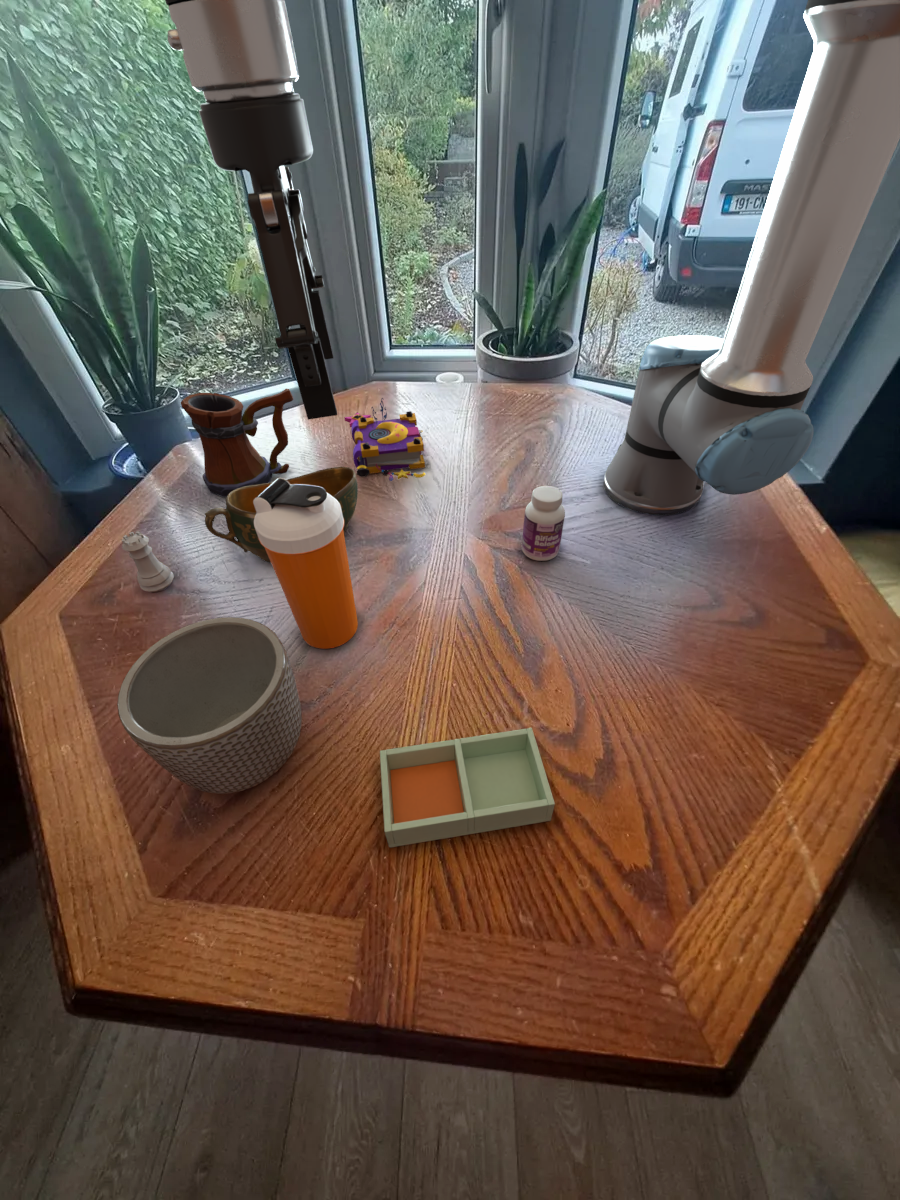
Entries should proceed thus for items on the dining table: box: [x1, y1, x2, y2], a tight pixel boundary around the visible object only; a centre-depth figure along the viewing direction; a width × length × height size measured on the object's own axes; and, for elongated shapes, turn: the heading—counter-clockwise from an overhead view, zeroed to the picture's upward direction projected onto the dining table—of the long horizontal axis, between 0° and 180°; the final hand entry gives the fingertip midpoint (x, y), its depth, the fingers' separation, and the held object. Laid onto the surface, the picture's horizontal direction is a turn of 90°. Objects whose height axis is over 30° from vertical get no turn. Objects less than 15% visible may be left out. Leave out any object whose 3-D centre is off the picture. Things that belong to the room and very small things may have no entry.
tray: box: [379, 727, 556, 849], centre depth 48 cm, size 15×8×4 cm, turn 99°
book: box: [343, 397, 427, 482], centre depth 92 cm, size 14×25×12 cm, turn 10°
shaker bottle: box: [253, 477, 359, 650], centre depth 58 cm, size 9×9×20 cm
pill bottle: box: [521, 485, 566, 562], centre depth 72 cm, size 5×5×10 cm
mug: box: [179, 388, 294, 498], centre depth 87 cm, size 18×12×15 cm, turn 107°
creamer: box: [204, 466, 359, 564], centre depth 75 cm, size 13×20×10 cm, turn 99°
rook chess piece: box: [121, 531, 175, 593], centre depth 70 cm, size 4×4×8 cm
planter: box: [116, 616, 303, 795], centre depth 49 cm, size 14×14×13 cm
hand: (322, 385), depth 53 cm, fingers open, 13 cm apart
